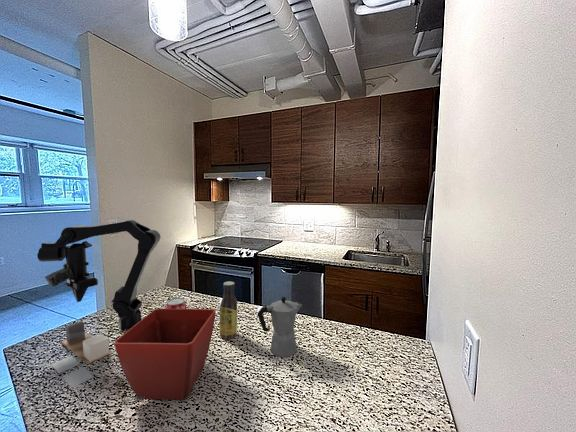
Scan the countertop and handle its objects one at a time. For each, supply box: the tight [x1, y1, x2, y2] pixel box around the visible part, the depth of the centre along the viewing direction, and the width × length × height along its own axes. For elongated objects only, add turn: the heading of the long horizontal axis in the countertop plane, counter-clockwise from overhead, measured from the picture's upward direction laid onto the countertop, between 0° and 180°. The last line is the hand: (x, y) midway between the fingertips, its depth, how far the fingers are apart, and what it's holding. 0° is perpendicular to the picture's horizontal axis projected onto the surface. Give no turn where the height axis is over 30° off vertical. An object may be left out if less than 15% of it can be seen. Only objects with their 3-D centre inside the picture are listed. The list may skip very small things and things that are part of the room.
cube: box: [83, 333, 110, 363], centre depth 81 cm, size 5×5×5 cm
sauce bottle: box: [219, 280, 238, 340], centre depth 94 cm, size 6×6×20 cm
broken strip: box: [50, 355, 95, 389], centre depth 74 cm, size 17×5×1 cm, turn 56°
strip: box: [61, 320, 114, 365], centre depth 86 cm, size 22×7×6 cm, turn 57°
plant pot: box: [113, 308, 216, 401], centre depth 71 cm, size 19×19×17 cm
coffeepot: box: [257, 296, 303, 358], centre depth 85 cm, size 15×9×18 cm, turn 110°
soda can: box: [164, 297, 188, 309], centre depth 95 cm, size 7×7×13 cm
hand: (78, 301), depth 96 cm, fingers closed
